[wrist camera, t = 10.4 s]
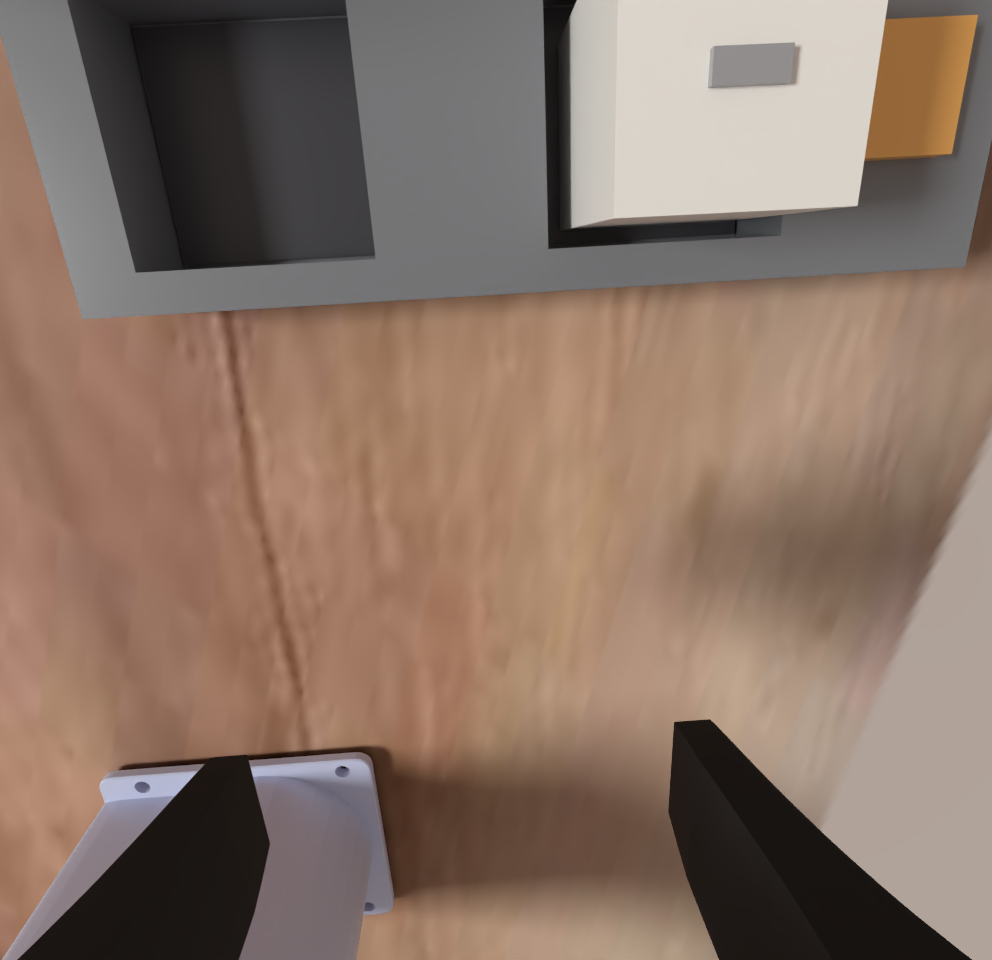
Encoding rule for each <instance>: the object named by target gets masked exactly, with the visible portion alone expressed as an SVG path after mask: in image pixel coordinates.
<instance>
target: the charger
mask: <svg viewBox="0 0 992 960" xmlns="http://www.w3.org/2000/svg"><path fill="white" fill-rule="evenodd" d="M887 5H888V0H577V1H576V4H575V6H574V8H573V10H572V13H571V15H570V17H569V20H568V22H567V24H566V26H565V29H564V31H563V33H562V35H561V38H560V40H559V42H558V92H559V190H560V231H565V230H585V229H604V228H624V227H643V226H663V225H682V224H702V223H718V222H727V221H735V220H743V219H752V218H760V217H769V216H777V215H786V214H794V213H803V212H811V211H820V210H828V209H836V208H845V207H853V206H858V199H859V192H860V186H861V179H862V172H863V166H864V159H865V152H866V145H867V139H868V132H869V125H870V119H871V112H872V105H873V99H874V92H875V85H876V78H877V72H878V65H879V58H880V52H881V45H882V38H883V32H884V25H885V18H886V11H887Z"/></svg>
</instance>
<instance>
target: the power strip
mask: <svg viewBox="0 0 992 960" xmlns="http://www.w3.org/2000/svg"><path fill="white" fill-rule="evenodd" d="M576 1H577V0H0V35H1V38H2V41H3V45H4V48H5V52H6V55H7V59H8V62H9V66H10V69H11V73H12V76H13V80H14V83H15V87H16V90H17V94H18V97H19V100H20V104H21V107H22V111H23V114H24V118H25V121H26V125H27V128H28V132H29V135H30V139H31V142H32V146H33V149H34V153H35V156H36V159H37V163H38V166H39V170H40V173H41V177H42V180H43V184H44V187H45V191H46V194H47V198H48V201H49V205H50V208H51V212H52V215H53V219H54V222H55V225H56V229H57V232H58V236H59V239H60V243H61V246H62V250H63V253H64V257H65V260H66V264H67V267H68V271H69V274H70V278H71V281H72V284H73V288H74V291H75V295H76V298H77V302H78V305H79V309H80V312H81V316H82V319H95V318H112V317H129V316H146V315H163V314H180V313H196V312H213V311H230V310H247V309H264V308H281V307H298V306H315V305H332V304H348V303H365V302H382V301H399V300H416V299H433V298H450V297H467V296H483V295H500V294H517V293H534V292H551V291H568V290H585V289H602V288H618V287H635V286H652V285H669V284H686V283H703V282H720V281H737V280H754V279H770V278H787V277H804V276H821V275H838V274H855V273H872V272H889V271H905V270H922V269H939V268H956V267H965V266H966V261H967V256H968V251H969V246H970V242H971V237H972V232H973V227H974V223H975V218H976V213H977V208H978V203H979V199H980V194H981V189H982V184H983V180H984V175H985V170H986V165H987V160H988V156H989V151H990V146H991V141H992V0H888V5H887V11H886V18H885V25H884V32H883V38H882V45H881V52H880V58H879V65H878V72H877V78H876V85H875V92H874V99H873V105H872V112H871V119H870V125H869V132H868V139H867V145H866V152H865V159H864V166H863V172H862V179H861V186H860V192H859V199H858V206H853V207H845V208H836V209H828V210H820V211H811V212H803V213H794V214H786V215H777V216H769V217H760V218H752V219H743V220H735V221H727V222H718V223H702V224H682V225H663V226H643V227H624V228H604V229H585V230H565V231H560V190H559V92H558V42H559V40H560V38H561V35H562V33H563V31H564V29H565V26H566V24H567V22H568V20H569V17H570V15H571V13H572V10H573V8H574V6H575V4H576Z"/></svg>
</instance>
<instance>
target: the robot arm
mask: <svg viewBox="0 0 992 960" xmlns="http://www.w3.org/2000/svg"><path fill="white" fill-rule="evenodd" d="M340 766H346V767H347V768H346V769H345V768H341V767H340ZM144 782H146V783H144ZM100 791H101V793H102V796H103V799H104V801H105V804H104V805H103V807H102V808H101V810H100V811H99V813H98V814H97V816H96V817H95V819H94V820H93V822H92V823H91V825H90V826H89V828H88V829H87V831H86V832H85V834H84V836H83V837H82V839H81V840H80V842H79V843H78V845H77V846H76V848H75V849H74V851H73V852H72V854H71V855H70V857H69V858H68V860H67V861H66V863H65V864H64V866H63V867H62V869H61V871H60V872H59V874H58V875H57V877H56V878H55V880H54V881H53V883H52V884H51V886H50V887H49V889H48V890H47V892H46V893H45V895H44V896H43V898H42V899H41V901H40V903H39V904H38V906H37V907H36V909H35V910H34V912H33V913H32V915H31V916H30V918H29V919H28V921H27V922H26V924H25V925H24V927H23V928H22V930H21V931H20V933H19V935H18V936H17V938H16V939H15V941H14V942H13V944H12V945H11V947H10V948H9V950H8V951H7V953H6V954H5V956H4V957H3V959H2V960H356V959H357V952H358V946H359V939H360V933H361V926H362V920H363V915H372V914H383V913H387V912H388V911H390V910H391V909H392V908H393V904H394V891H393V885H392V879H391V873H390V866H389V860H388V854H387V848H386V842H385V836H384V830H383V824H382V818H381V812H380V806H379V799H378V793H377V787H376V781H375V775H374V769H373V763H372V760H371V758H370V757H369V756H368V755H367V754H364V753H362V752H352V753H339V754H326V755H313V756H300V757H287V758H274V759H261V760H248V756H247V755H240V756H227V757H214V758H210V759H209V760H208V761H207V762H206V763H205V764H196V765H183V766H170V767H157V768H144V769H131V770H118V771H112V772H109V773H108V774H106V776H105V777H104V779H103V780H102V781H101V783H100ZM668 812H669V815H670V819H671V823H672V826H673V830H674V834H675V837H676V841H677V845H678V848H679V852H680V855H681V859H682V862H683V865H684V869H685V872H686V876H687V879H688V881H689V884H690V887H691V889H692V892H693V894H694V897H695V899H696V902H697V905H698V907H699V910H700V912H701V915H702V917H703V920H704V922H705V925H706V928H707V930H708V933H709V935H710V938H711V940H712V943H713V945H714V948H715V950H716V953H717V955H718V958H719V960H972V959H970V958H969V957H968V956H966V955H965V954H964V953H962V952H961V951H960V950H959V949H958V948H956V947H955V946H954V945H952V944H951V943H950V942H949V941H947V940H946V939H945V938H944V937H942V936H941V935H940V934H939V933H937V932H936V931H935V930H934V929H932V928H931V927H930V926H928V925H927V924H926V923H925V922H924V921H922V920H921V919H920V918H918V917H917V916H916V915H915V914H914V913H912V912H911V911H910V910H909V909H908V908H907V907H905V906H904V905H903V904H902V903H900V902H899V901H898V900H897V899H896V898H895V897H894V896H892V895H891V894H890V893H889V892H888V891H887V890H885V889H884V888H883V887H882V886H881V885H879V884H878V883H877V882H876V881H875V880H874V879H873V878H872V877H871V876H869V875H868V874H867V873H866V872H865V871H864V870H863V869H862V868H860V867H859V866H858V865H857V864H856V863H855V862H853V860H851V859H850V858H849V857H848V856H847V855H846V854H845V853H844V852H843V851H841V850H840V849H839V848H838V847H837V846H836V845H835V844H834V843H833V842H832V841H831V840H830V839H828V838H827V837H826V836H825V835H824V834H823V833H822V832H821V831H820V830H819V829H818V828H817V827H816V826H815V825H814V824H813V823H812V822H811V821H810V820H809V819H808V818H807V817H806V816H805V815H804V814H802V813H801V812H800V811H799V810H798V809H797V808H796V807H795V806H794V805H793V804H792V803H791V802H790V801H789V800H788V799H787V798H786V797H785V796H784V795H783V794H782V793H781V792H780V791H779V790H778V789H777V788H776V787H775V786H774V785H773V784H772V783H771V782H770V781H769V780H768V779H767V778H766V777H765V776H764V775H763V774H762V773H761V772H760V771H759V770H758V769H757V768H756V767H755V766H754V764H753V763H752V762H751V761H750V760H749V759H748V758H747V757H746V756H745V755H744V754H743V753H742V752H741V751H740V750H739V749H738V748H737V747H736V746H735V745H734V743H733V742H732V741H731V740H730V739H729V738H728V737H727V736H726V735H725V734H724V733H723V732H722V731H721V730H720V729H719V728H718V727H717V726H716V725H715V724H714V723H713V722H712V721H711V720H710V719H709V720H696V721H683V722H674V733H673V749H672V765H671V780H670V796H669V811H668Z"/></svg>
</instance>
